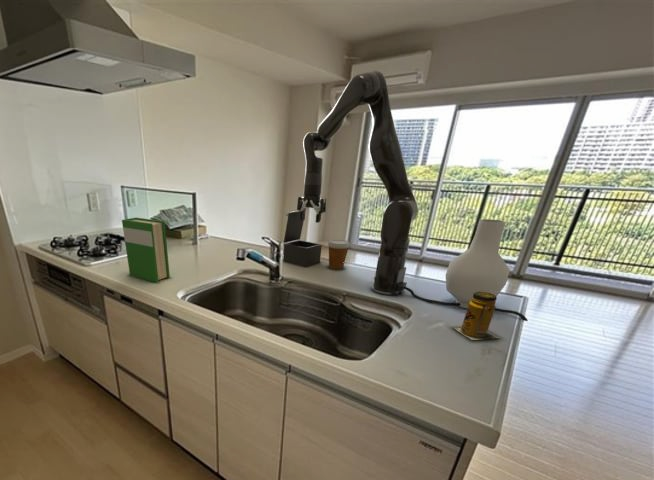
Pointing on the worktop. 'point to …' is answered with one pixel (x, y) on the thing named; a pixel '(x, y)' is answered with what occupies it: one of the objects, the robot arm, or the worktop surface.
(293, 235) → the lid
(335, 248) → the disposable coffee cup
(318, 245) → the dark grey lidded box
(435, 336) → the worktop surface
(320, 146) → the robot arm
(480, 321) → the condiment
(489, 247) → the vase
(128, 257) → the hardback book
